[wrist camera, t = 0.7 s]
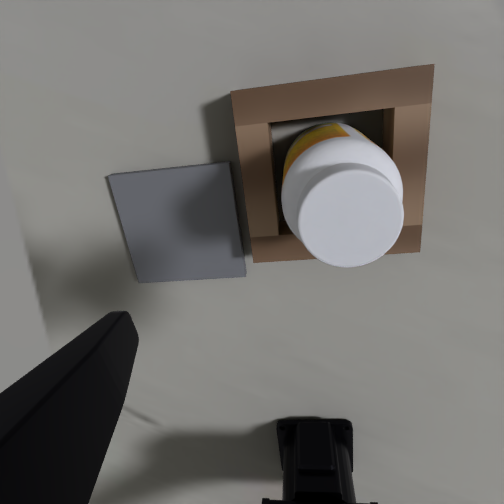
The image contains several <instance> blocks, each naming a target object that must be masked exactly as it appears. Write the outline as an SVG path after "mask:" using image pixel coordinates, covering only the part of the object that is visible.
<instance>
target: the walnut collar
mask: <svg viewBox="0 0 504 504" xmlns="http://www.w3.org/2000/svg"><path fill="white" fill-rule="evenodd" d="M433 77H434V64H430V65H421V66H413V67H406V68H398V69H391V70H383V71H376V72H368V73H361V74H354V75H346V76H339V77H331V78H324V79H316V80H309V81H302V82H294V83H287V84H279V85H272V86H264V87H257V88H250V89H242V90H235V91H230V93H231V100H232V107H233V115H234V122H235V130H236V137H237V144H238V152H239V159H240V167H241V174H242V181H243V189H244V196H245V203H246V211H247V218H248V226H249V233H250V240H251V248H252V255H253V263H259V262H275V261H290V260H306V259H317V258H316V257H314V256H313V255H312V254H311V253H310V252H309V251H308V250H307V249H306V247H305V246H304V244H303V243H302V242H301V241H300V240H299V239H298V238H297V237H296V236H295V235H294V233H293V232H292V231H291V229H290V228H289V226H288V224H287V222H286V220H285V221H280V217H279V206H278V196H277V186H276V175H275V165H274V155H273V144H272V134H271V123H270V122H278V121H286V120H294V119H303V118H311V117H319V116H328V115H336V114H344V113H353V112H361V111H369V110H378V109H384V114H383V150H384V151H385V152H386V153H387V155H388V156H389V157H390V158H391V159H392V161H393V162H394V163H395V165H396V167H397V169H398V171H399V173H400V176H401V180H402V185H403V200H402V204H403V210H404V220H403V226H402V229H401V232H400V234H399V237H398V238H397V240H396V242H395V243H394V245H393V246H392V247H391V248H390V249H389V250H388V251H387V252H386V253H385V254H398V253H414V252H420V246H421V233H422V220H423V207H424V194H425V181H426V168H427V155H428V142H429V129H430V116H431V103H432V90H433Z"/></svg>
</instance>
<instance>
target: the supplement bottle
mask: <svg viewBox="0 0 504 504" xmlns="http://www.w3.org/2000/svg"><path fill="white" fill-rule="evenodd" d="M402 200H403V185H402V180H401V176H400V173H399V171H398V169H397V167H396V165H395V163H394V162H393V161H392V159H391V158H390V157H389V156H388V155H387V153H386V152H385V151H384V150H382V149H381V148H380V147H379V146H377V145H376V144H375V143H373V142H372V141H371V140H369V139H368V138H367V137H366V136H365V135H363V134H362V133H361V132H359V131H358V130H356V129H355V128H353V127H351V126H348V125H346V124H342V123H336V122H328V123H322V124H318V125H315V126H313V127H311V128H309V129H307V130H305V131H304V132H303V133H301V134H300V135H299V136H298V137H297V138H296V139H295V141H294V142H293V143H292V145H291V147H290V148H289V150H288V153H287V155H286V158H285V162H284V170H283V183H282V193H281V201H282V209H283V214H284V217H285V220H286V222H287V224H288V226H289V228H290V229H291V231H292V232H293V233H294V235H295V236H296V237H297V238H298V239H299V240H300V241H301V242H302V243H303V244H304V246H305V247H306V249H307V250H308V251H309V252H310V253H311V254H312V255H313V256H314V257H316V258H317V259H319V260H320V261H322V262H324V263H327V264H329V265H332V266H337V267H357V266H361V265H365V264H368V263H370V262H372V261H374V260H376V259H378V258H380V257H381V256H382V255H384V254H385V253H386V252H387V251H388V250H389V249H390V248H391V247H392V246H393V245H394V243H395V242H396V240H397V238H398V237H399V234H400V232H401V229H402V226H403V220H404V210H403V204H402Z"/></svg>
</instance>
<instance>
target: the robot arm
mask: <svg viewBox="0 0 504 504" xmlns="http://www.w3.org/2000/svg"><path fill="white" fill-rule="evenodd" d="M138 343H139V337H138V333H137V330H136V328H135V325H134V323H133V321H132V318H131V316H130V314H129V313H128V312H127V311H113V312H110V313H108V314H107V315H105V316H104V317H103V318H101V319H100V320H99V321H97V322H96V323H95V324H93V325H92V326H91V327H89V328H88V329H87V330H85V331H84V332H83V333H81V334H80V335H78V336H77V337H76V338H74V339H73V340H72V341H70V342H69V343H68V344H66V345H65V346H64V347H62V348H61V349H60V350H58V351H57V352H56V353H54V354H53V355H51V356H50V357H49V358H47V359H46V360H45V361H43V362H42V363H41V364H39V365H38V366H37V367H35V368H34V369H33V370H31V371H30V372H28V373H27V374H26V375H25V376H23V377H22V378H20V379H19V380H18V381H17V382H15V383H14V384H12V385H11V386H10V387H8V388H7V389H5V390H4V391H3V392H1V393H0V504H88V503H89V500H90V497H91V494H92V492H93V489H94V486H95V483H96V480H97V477H98V475H99V472H100V469H101V466H102V463H103V461H104V458H105V455H106V452H107V449H108V446H109V444H110V441H111V438H112V435H113V432H114V430H115V427H116V424H117V421H118V418H119V416H120V413H121V410H122V407H123V404H124V401H125V397H126V393H127V389H128V385H129V381H130V377H131V373H132V368H133V364H134V360H135V356H136V352H137V348H138ZM277 435H278V443H279V450H280V458H281V465H282V470H283V498H282V500H270V499H269V498H262V504H367V503H356V499H355V492H354V485H353V479H352V472H353V428H352V423H351V422H350V421H348V420H280V421H278V422H277ZM370 504H378V503H377V502H370Z"/></svg>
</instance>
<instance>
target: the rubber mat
mask: <svg viewBox="0 0 504 504" xmlns="http://www.w3.org/2000/svg"><path fill="white" fill-rule="evenodd" d="M108 178H109V182H110V185H111V189H112V192H113V196H114V199H115V202H116V206H117V209H118V213H119V216H120V220H121V223H122V227H123V230H124V233H125V237H126V240H127V244H128V247H129V251H130V254H131V258H132V261H133V265H134V268H135V271H136V275H137V278H138V282H139V283H149V282H166V281H183V280H200V279H217V278H234V277H246V273H247V272H246V265H245V259H244V252H243V245H242V238H241V231H240V224H239V218H238V211H237V204H236V197H235V190H234V183H233V177H232V170H231V163H230V161H228V162H218V163H209V164H200V165H190V166H181V167H171V168H162V169H153V170H143V171H134V172H124V173H115V174H111V175H109V176H108Z"/></svg>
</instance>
